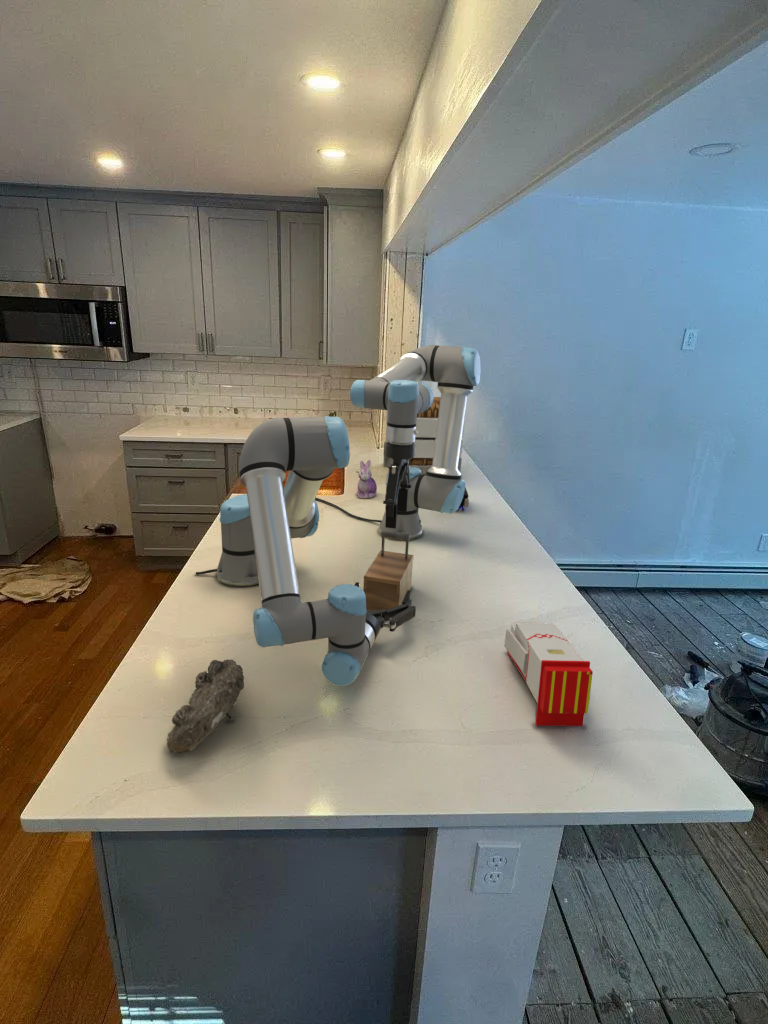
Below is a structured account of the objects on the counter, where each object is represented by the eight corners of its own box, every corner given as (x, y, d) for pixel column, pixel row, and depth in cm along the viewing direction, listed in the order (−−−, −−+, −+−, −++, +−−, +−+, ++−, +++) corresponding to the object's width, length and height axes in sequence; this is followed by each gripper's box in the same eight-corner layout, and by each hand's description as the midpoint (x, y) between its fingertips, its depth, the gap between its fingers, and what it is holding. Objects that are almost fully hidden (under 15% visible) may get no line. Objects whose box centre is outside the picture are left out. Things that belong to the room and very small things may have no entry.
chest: (378, 582, 164) (379, 555, 161) (411, 587, 162) (412, 559, 159) (362, 609, 149) (363, 580, 146) (398, 615, 147) (400, 585, 144)
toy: (550, 607, 134) (601, 667, 105) (545, 659, 137) (594, 732, 108) (499, 606, 134) (537, 666, 104) (495, 659, 137) (530, 731, 107)
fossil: (192, 660, 117) (244, 628, 112) (224, 691, 120) (276, 661, 115) (142, 746, 98) (202, 712, 93) (182, 779, 101) (242, 748, 96)
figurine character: (468, 516, 224) (463, 500, 237) (471, 498, 221) (465, 483, 234) (452, 515, 224) (447, 499, 237) (453, 498, 220) (449, 482, 234)
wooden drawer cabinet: (382, 463, 289) (386, 382, 275) (445, 464, 293) (451, 384, 279) (390, 482, 257) (394, 392, 243) (460, 483, 261) (468, 394, 247)
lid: (380, 554, 162) (381, 526, 159) (413, 558, 160) (415, 530, 157) (363, 580, 146) (364, 549, 143) (400, 585, 144) (401, 555, 141)
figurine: (361, 500, 232) (362, 464, 227) (351, 492, 241) (352, 458, 236) (382, 497, 237) (383, 462, 232) (371, 490, 245) (372, 456, 240)
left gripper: (307, 638, 130) (336, 596, 150) (413, 657, 125) (429, 611, 144) (306, 609, 128) (337, 570, 147) (415, 628, 122) (431, 585, 142)
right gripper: (404, 454, 134) (400, 537, 141) (423, 434, 157) (418, 506, 164) (374, 451, 136) (371, 533, 143) (397, 431, 159) (393, 503, 166)
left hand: (382, 590), depth 146 cm, fingers open, 13 cm apart
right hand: (396, 519), depth 154 cm, fingers open, 13 cm apart
